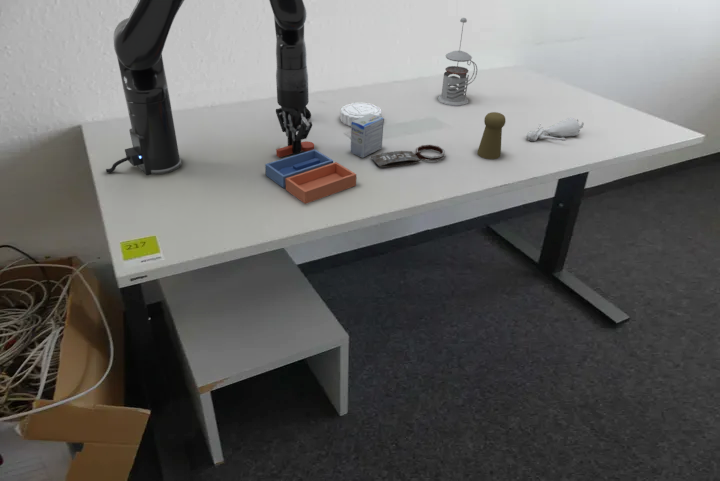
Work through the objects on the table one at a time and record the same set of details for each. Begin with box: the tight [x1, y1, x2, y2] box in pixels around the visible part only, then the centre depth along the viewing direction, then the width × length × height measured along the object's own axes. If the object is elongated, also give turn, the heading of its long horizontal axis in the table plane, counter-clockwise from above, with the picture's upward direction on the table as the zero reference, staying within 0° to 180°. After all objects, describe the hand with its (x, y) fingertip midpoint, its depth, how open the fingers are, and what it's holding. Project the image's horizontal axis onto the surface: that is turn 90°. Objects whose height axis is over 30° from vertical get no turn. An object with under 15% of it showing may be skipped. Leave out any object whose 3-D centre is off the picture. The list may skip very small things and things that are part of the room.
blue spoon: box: [280, 158, 320, 175], centre depth 131 cm, size 11×4×2 cm, turn 130°
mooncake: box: [339, 102, 383, 127], centre depth 160 cm, size 12×12×4 cm
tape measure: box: [305, 106, 312, 121], centre depth 159 cm, size 7×7×4 cm
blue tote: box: [264, 148, 334, 189], centre depth 131 cm, size 14×8×3 cm, turn 129°
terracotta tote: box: [285, 161, 357, 205], centre depth 126 cm, size 14×8×3 cm, turn 129°
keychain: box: [370, 144, 446, 168], centre depth 140 cm, size 8×19×2 cm, turn 110°
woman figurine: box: [525, 117, 585, 142], centre depth 154 cm, size 12×4×18 cm
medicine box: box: [350, 114, 385, 159], centre depth 141 cm, size 8×4×9 cm, turn 141°
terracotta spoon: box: [275, 140, 315, 159], centre depth 141 cm, size 11×4×2 cm, turn 129°
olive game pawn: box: [476, 111, 506, 160], centre depth 141 cm, size 6×6×11 cm
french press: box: [437, 17, 478, 106], centre depth 170 cm, size 10×12×25 cm
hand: (294, 151), depth 141 cm, fingers closed on terracotta spoon, 1 cm apart
